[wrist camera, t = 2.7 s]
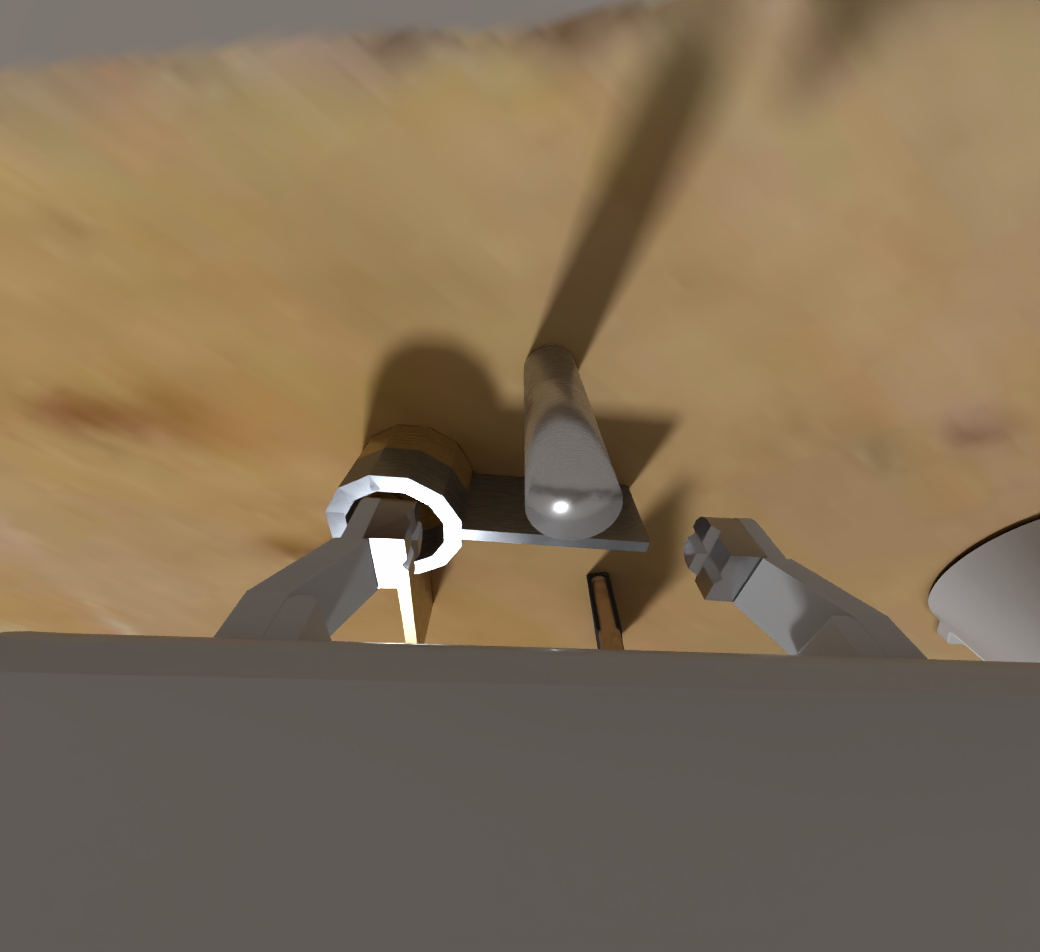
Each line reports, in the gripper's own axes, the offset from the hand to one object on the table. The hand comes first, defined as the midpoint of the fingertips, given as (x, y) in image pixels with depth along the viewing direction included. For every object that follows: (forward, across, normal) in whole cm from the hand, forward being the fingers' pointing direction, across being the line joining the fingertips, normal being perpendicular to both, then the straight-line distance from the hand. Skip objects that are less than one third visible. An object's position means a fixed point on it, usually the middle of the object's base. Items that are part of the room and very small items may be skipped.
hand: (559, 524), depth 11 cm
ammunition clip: (+13, -9, +22) cm, 27 cm away
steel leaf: (+13, +2, +8) cm, 15 cm away
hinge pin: (+13, -1, 0) cm, 13 cm away
